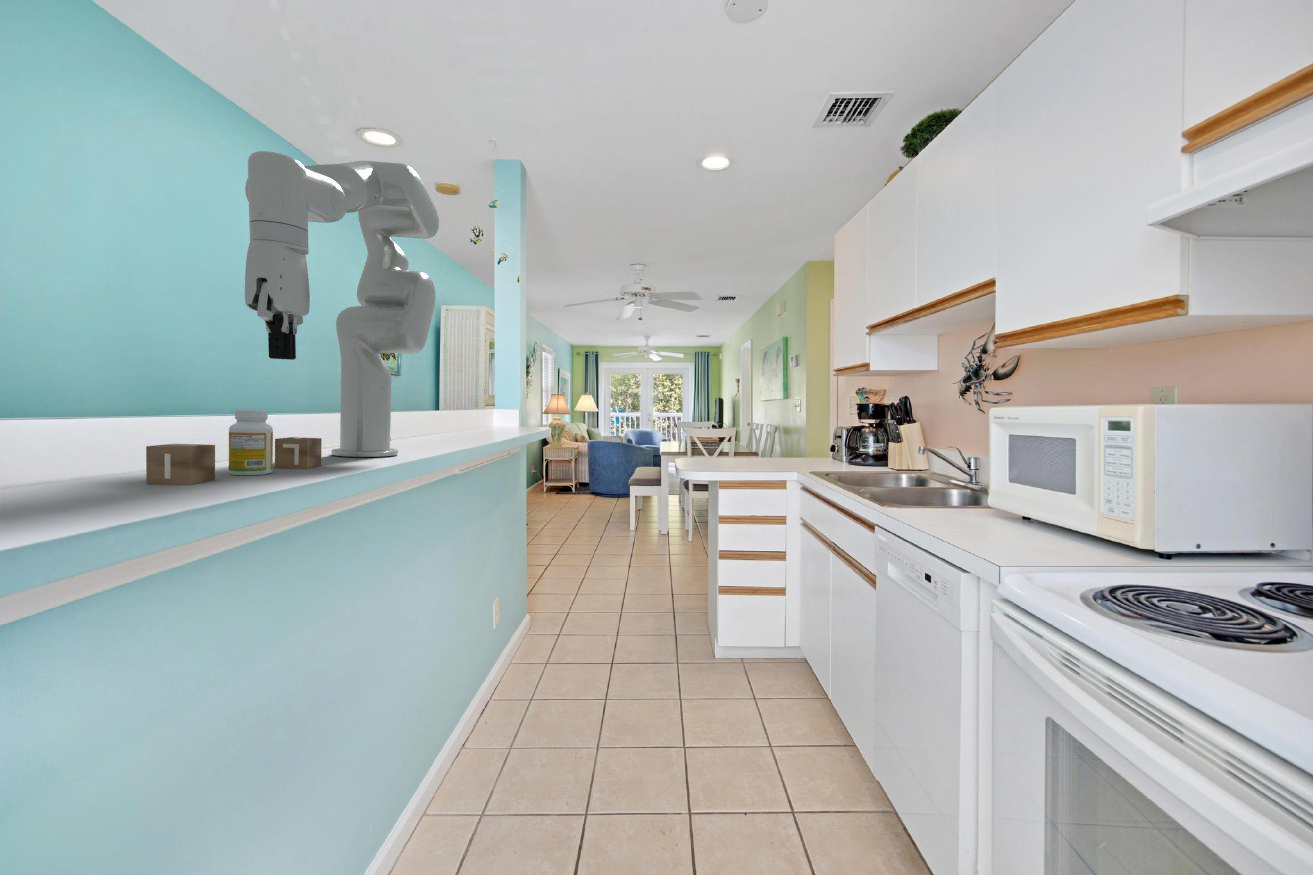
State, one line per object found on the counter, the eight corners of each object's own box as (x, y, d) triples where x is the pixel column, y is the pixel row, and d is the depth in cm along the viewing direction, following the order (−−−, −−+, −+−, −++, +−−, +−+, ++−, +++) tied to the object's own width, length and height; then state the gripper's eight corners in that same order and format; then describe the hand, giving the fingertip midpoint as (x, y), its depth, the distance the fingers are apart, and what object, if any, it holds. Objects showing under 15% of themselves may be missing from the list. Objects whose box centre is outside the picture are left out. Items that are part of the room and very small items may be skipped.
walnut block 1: (174, 479, 75) (174, 443, 75) (215, 480, 76) (215, 444, 75) (145, 485, 70) (145, 445, 70) (188, 485, 71) (188, 446, 70)
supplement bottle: (247, 471, 86) (248, 409, 85) (281, 472, 86) (281, 410, 85) (219, 474, 81) (219, 409, 80) (254, 476, 80) (255, 410, 80)
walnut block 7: (290, 465, 95) (290, 436, 95) (321, 466, 96) (321, 437, 96) (274, 468, 90) (274, 438, 90) (306, 469, 91) (306, 439, 91)
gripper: (280, 249, 92) (283, 359, 94) (221, 224, 77) (225, 355, 79) (328, 253, 93) (329, 361, 94) (278, 229, 78) (281, 358, 80)
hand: (282, 358), depth 87 cm, fingers closed
